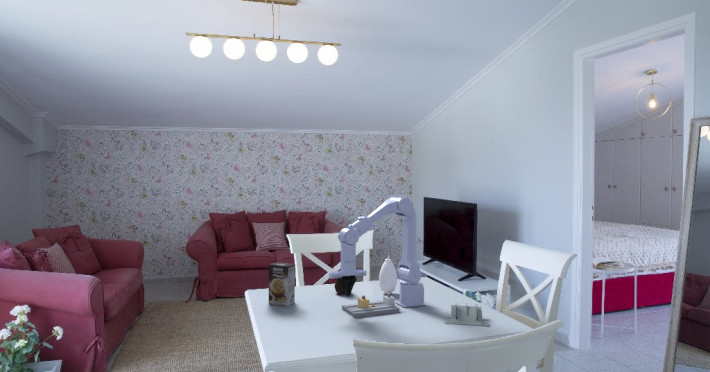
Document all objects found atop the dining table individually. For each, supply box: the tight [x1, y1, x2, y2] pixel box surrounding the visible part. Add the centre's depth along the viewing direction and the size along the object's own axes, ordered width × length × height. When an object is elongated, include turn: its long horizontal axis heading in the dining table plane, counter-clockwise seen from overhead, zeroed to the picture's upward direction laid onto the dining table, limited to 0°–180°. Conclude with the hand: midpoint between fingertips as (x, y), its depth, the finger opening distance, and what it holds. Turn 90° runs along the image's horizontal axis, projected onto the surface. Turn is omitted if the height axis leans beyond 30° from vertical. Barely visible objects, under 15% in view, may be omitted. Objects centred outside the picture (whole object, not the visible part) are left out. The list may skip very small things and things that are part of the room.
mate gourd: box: [334, 278, 345, 296], centre depth 211 cm, size 7×8×10 cm
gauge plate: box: [341, 293, 401, 319], centre depth 186 cm, size 19×12×6 cm, turn 114°
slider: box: [357, 295, 370, 308], centre depth 185 cm, size 3×4×4 cm
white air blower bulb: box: [378, 252, 398, 295], centre depth 211 cm, size 8×8×18 cm
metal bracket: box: [445, 302, 490, 328], centre depth 175 cm, size 14×6×15 cm
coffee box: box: [268, 261, 296, 307], centre depth 195 cm, size 9×6×16 cm
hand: (347, 295), depth 182 cm, fingers closed
